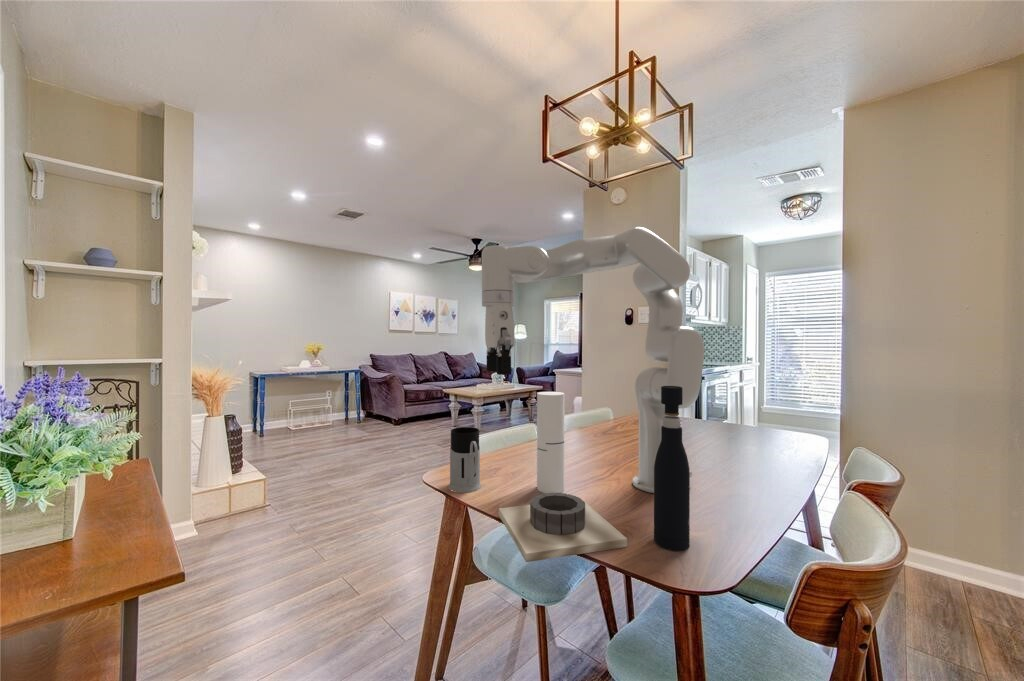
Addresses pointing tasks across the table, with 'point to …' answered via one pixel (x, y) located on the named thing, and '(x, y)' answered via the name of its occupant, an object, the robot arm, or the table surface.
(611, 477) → the table surface
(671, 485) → the wine bottle
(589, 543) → the bottle stand
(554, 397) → the cylindrical container
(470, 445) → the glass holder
